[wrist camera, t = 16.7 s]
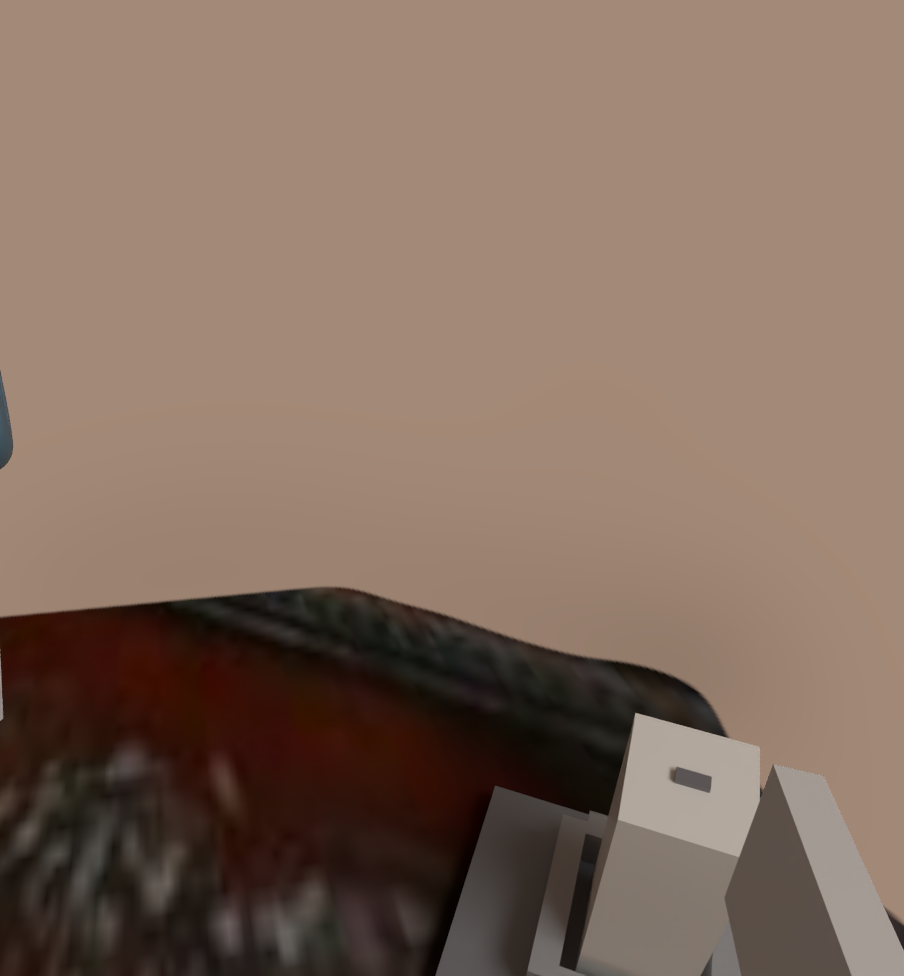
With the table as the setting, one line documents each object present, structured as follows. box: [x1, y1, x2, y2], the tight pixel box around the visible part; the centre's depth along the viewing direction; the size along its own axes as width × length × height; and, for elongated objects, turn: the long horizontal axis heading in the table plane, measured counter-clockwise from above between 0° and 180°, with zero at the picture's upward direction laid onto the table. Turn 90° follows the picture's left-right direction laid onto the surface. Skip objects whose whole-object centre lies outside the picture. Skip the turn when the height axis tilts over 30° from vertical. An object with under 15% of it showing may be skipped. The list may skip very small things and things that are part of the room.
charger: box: [575, 713, 760, 976], centre depth 30 cm, size 4×4×13 cm
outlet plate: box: [436, 786, 741, 976], centre depth 34 cm, size 16×11×4 cm
